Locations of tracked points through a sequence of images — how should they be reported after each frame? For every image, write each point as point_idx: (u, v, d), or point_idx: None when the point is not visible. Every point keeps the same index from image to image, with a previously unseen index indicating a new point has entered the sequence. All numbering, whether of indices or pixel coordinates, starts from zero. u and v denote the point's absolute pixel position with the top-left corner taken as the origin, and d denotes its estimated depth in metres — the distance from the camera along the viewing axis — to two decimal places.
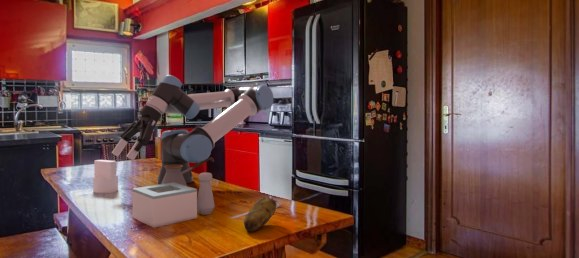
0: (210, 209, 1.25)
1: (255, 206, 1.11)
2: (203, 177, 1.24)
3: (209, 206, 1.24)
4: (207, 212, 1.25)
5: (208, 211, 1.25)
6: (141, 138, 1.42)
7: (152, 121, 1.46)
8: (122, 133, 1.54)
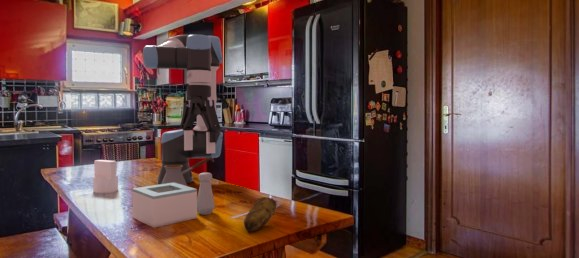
0: (210, 209, 1.25)
1: (255, 206, 1.11)
2: (203, 177, 1.24)
3: (209, 206, 1.24)
4: (207, 212, 1.25)
5: (208, 211, 1.25)
6: (210, 127, 1.19)
7: (209, 102, 1.19)
8: None
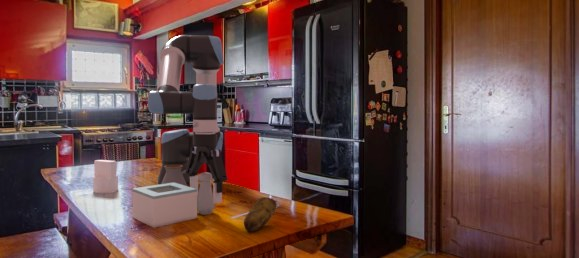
0: (210, 209, 1.25)
1: (255, 206, 1.11)
2: (203, 177, 1.24)
3: (209, 206, 1.24)
4: (207, 212, 1.25)
5: (208, 211, 1.25)
6: (216, 177, 1.20)
7: (215, 152, 1.20)
8: (186, 168, 1.32)
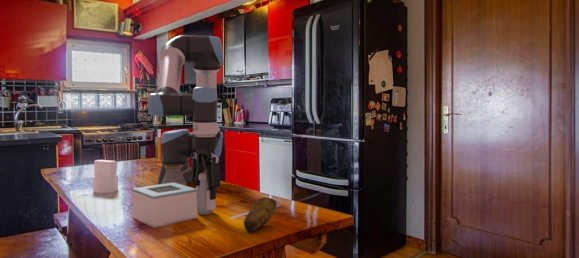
0: None
1: (255, 206, 1.11)
2: (203, 177, 1.24)
3: None
4: (207, 212, 1.25)
5: (208, 210, 1.25)
6: (210, 185, 1.22)
7: (215, 160, 1.20)
8: (191, 178, 1.30)
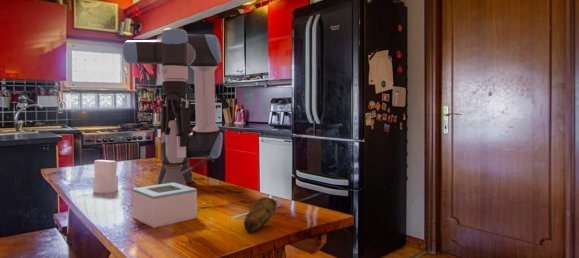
0: None
1: (255, 206, 1.11)
2: (173, 124, 1.19)
3: None
4: (177, 160, 1.19)
5: (179, 159, 1.19)
6: (180, 131, 1.17)
7: (185, 104, 1.15)
8: (161, 127, 1.24)
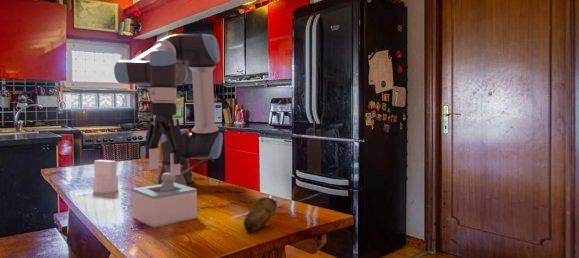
0: None
1: (255, 206, 1.11)
2: (166, 177, 1.18)
3: None
4: None
5: None
6: (174, 148, 1.13)
7: (173, 121, 1.14)
8: (146, 141, 1.25)
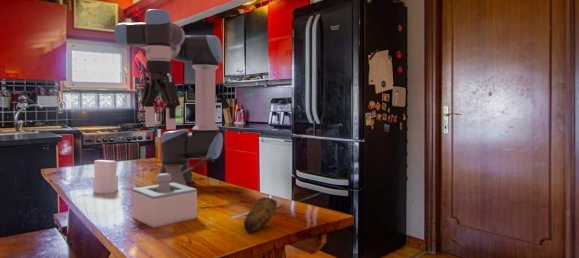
0: None
1: (255, 206, 1.11)
2: (161, 178, 1.18)
3: None
4: None
5: None
6: (169, 103, 1.19)
7: (168, 77, 1.19)
8: (142, 99, 1.31)
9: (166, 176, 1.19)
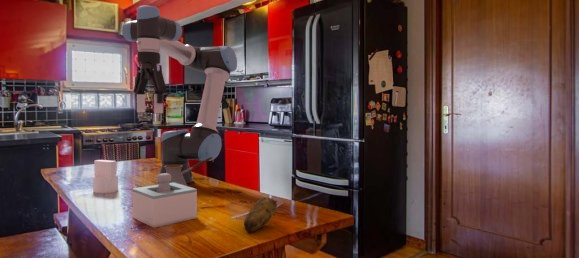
0: None
1: (255, 206, 1.11)
2: (161, 178, 1.18)
3: None
4: None
5: None
6: (157, 89, 1.32)
7: (156, 66, 1.32)
8: (134, 88, 1.44)
9: (166, 176, 1.19)
